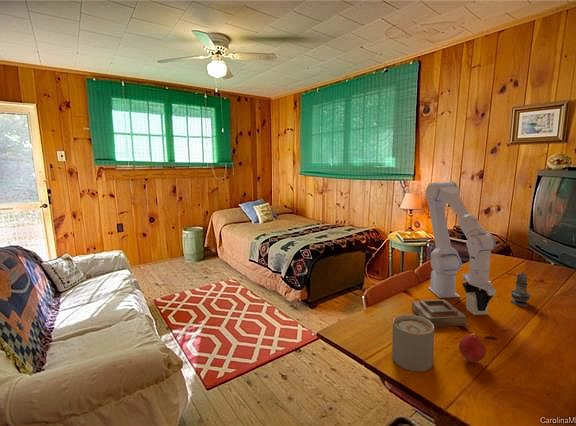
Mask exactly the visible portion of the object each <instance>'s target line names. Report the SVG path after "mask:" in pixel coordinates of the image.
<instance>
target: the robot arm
mask: <svg viewBox="0 0 576 426" xmlns="http://www.w3.org/2000/svg"><path fill="white" fill-rule="evenodd" d="M425 195H426V196H425V197H426V202H427V205H428V210H429V217H430V221H431V222H430V223H431V228H432V233H433V239H434V244H435V248H434V249H433V250H432V251H431V253H430V266H431V267H430V268H431V269H432V271H431V272H430V285H429V287H428V288H427V289H428V290H429V291H430V292H432V293H433V294H434V295H435V296H437V297H438V298H440V299H442V298H443V299H444V298H460V297H461V295H460V294H458V293H457V292H456V285H457V284H456V282H457V281H456V280H457V274H458V272H459V270H461V268H462V266H463V265H462V264H463V262H462V259H461V257H460V254H459V252H458V250H457V249H455V248H454V247H452V244H451V239H450V233H449V232H450V231H449V229H448V228H449V227H448V223H447V217H446V212H445V207H446V205H447V204H448V206H449V207H450V208H451V209H452V211H453V212H454V214H456V216H457V218H458V221H457V224H458V227H460V229H461V231H462V233H463V234H464V235H465V238H466V239H467V240H466V241H465V244H466V245H465V246H466V248H467V250H468V252H467V253H468V256H469V267H468V273H463V274H462V277H461V278H462V281H466V282H462V284H461V285H462V287H463V289H464V290H465V294H466V295H467V292H475V295H476V298H477V308H478V310H479V311H485V310H486V307H487V305H488V306H489V302H490V301H491V299H492V298H493V297H495V296H496V295H497V289H495V288H494V287H493V286H492V285H491V284H492V281H490V279H489V278H490V277H489V275H490V264H491V263H490V262H491V251H492V250H494V249H495V248H496V243H497V242H496V240H495V237H494V235H493V234H491V233H490V232H488V231H487V230H485V229H484V228H483V226H482V225H481V223H480V222H479V219H478V218H477V216H475V215H474V214H470V213H469V211H468V210H467V207H466V206H465V203H464V202H463V200H462V198H461V196H460V187H458V184H457V182H455V181H453V180H452V181H440V182H439V181H438V182H434V181H431V182H430V183H428V185H427V186H426V189H425Z"/></svg>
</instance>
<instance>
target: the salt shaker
mask: <svg viewBox="0 0 576 426" xmlns="http://www.w3.org/2000/svg"><path fill="white" fill-rule="evenodd" d="M514 283H515V289H513V290H511V291H510V295H511V297H512V298H513V299H511V300H510V302H511V304H513V305H516V306H519V307H529V306H530V303H529V302H528V301H529V300H530V298H531V297H532V294H530V293H529V292H528V291H527V287H528V276H527V274H525V273H524V271H521V272H520V273H518V274H516V281H515V282H514Z"/></svg>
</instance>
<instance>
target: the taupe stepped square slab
mask: <svg viewBox="0 0 576 426" xmlns="http://www.w3.org/2000/svg"><path fill="white" fill-rule="evenodd" d="M412 309H413V310H412ZM411 310H412V311H413V313H415V315H416V314H417V315H418V316H420V317H423V318H425V319H427V320H429V321H430V322H432V324H433V325H434V328H443V327H444V328H447V327H448V328H449V327H467V316H466V315H465V314H464V313H463V312H462V311H460V310H459V309H457V307H455V306H454V305H452V304H451V303H450V302H449V301H448V300H447V299H446V300H445V299H444V298H443V299H442V298H440V299H420V300H416V301H411ZM417 315H416V316H417Z"/></svg>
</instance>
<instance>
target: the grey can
mask: <svg viewBox="0 0 576 426" xmlns="http://www.w3.org/2000/svg"><path fill="white" fill-rule="evenodd" d="M434 342H435V327H434V325H433V324H432V322H430V321H429V320H427V319H425V318H423V317H420V316H417V315H416V314H408V313H406V314H399V315H396V316H395V317H394V318H393V320H392V342H391V344H392V345H391V348H392V349H391V357H392V359H393V361H394V363H395V364H396V365H398V366H399V367H401V368H403V369H406V370H409V371H412V372H426V371H428V370H430V369H432V368H433V366H434V351H435V350H434V349H435V347H434V345H435V343H434Z"/></svg>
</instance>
